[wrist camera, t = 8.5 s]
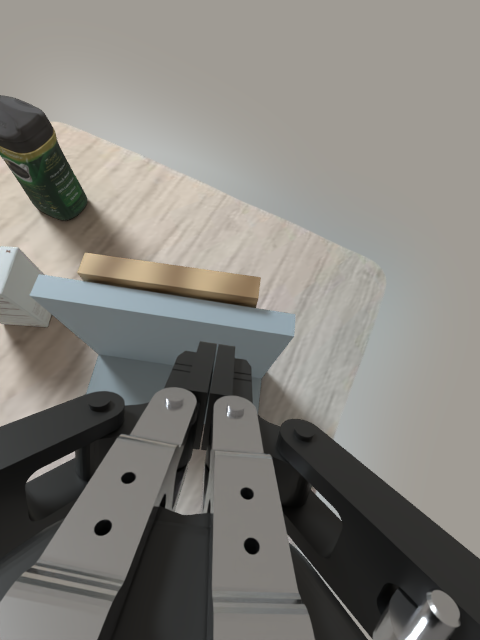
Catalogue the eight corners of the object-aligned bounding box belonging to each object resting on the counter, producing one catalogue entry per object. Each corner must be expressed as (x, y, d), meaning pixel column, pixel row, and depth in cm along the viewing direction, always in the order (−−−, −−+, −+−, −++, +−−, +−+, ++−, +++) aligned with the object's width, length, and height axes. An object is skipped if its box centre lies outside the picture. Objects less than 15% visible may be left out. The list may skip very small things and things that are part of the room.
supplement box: (16, 285, 53) (-38, 240, 42) (60, 289, 54) (19, 246, 42) (1, 325, 51) (-61, 288, 39) (48, 329, 51) (1, 294, 39)
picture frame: (121, 327, 44) (77, 272, 30) (126, 312, 45) (85, 252, 31) (246, 345, 44) (258, 298, 31) (248, 329, 45) (260, 277, 32)
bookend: (85, 407, 47) (-7, 377, 27) (106, 343, 51) (38, 274, 31) (254, 431, 48) (288, 419, 28) (261, 366, 52) (295, 314, 32)
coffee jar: (95, 200, 62) (53, 105, 45) (69, 227, 59) (13, 137, 42) (55, 180, 63) (-2, 80, 46) (27, 206, 60) (-45, 110, 43)
